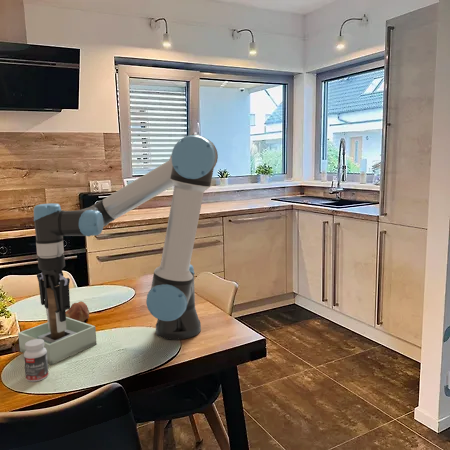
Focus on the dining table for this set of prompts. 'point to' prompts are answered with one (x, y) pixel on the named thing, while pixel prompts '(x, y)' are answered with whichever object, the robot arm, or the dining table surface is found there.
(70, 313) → the fossil
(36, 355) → the pill bottle
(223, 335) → the dining table surface
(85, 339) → the bin
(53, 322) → the peg
